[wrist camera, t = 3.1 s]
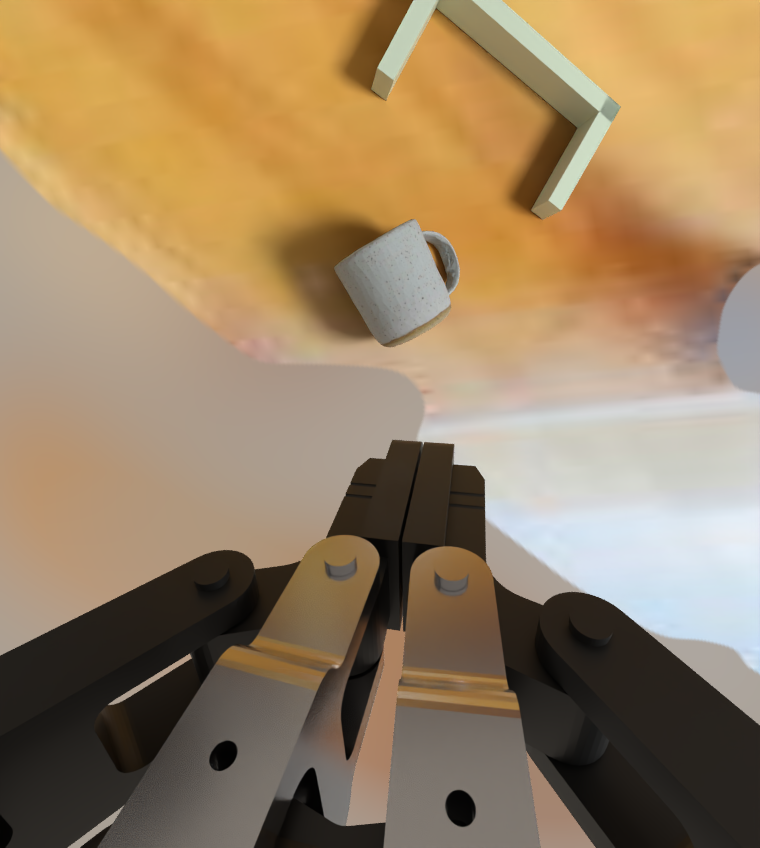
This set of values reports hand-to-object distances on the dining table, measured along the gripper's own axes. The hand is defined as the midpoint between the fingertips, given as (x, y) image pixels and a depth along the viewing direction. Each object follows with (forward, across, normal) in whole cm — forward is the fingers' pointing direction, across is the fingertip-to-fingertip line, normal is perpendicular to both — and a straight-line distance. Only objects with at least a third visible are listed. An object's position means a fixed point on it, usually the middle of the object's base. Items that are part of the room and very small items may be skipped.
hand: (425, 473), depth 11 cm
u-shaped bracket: (+40, +1, +13) cm, 42 cm away
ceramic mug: (+32, -6, -1) cm, 33 cm away
